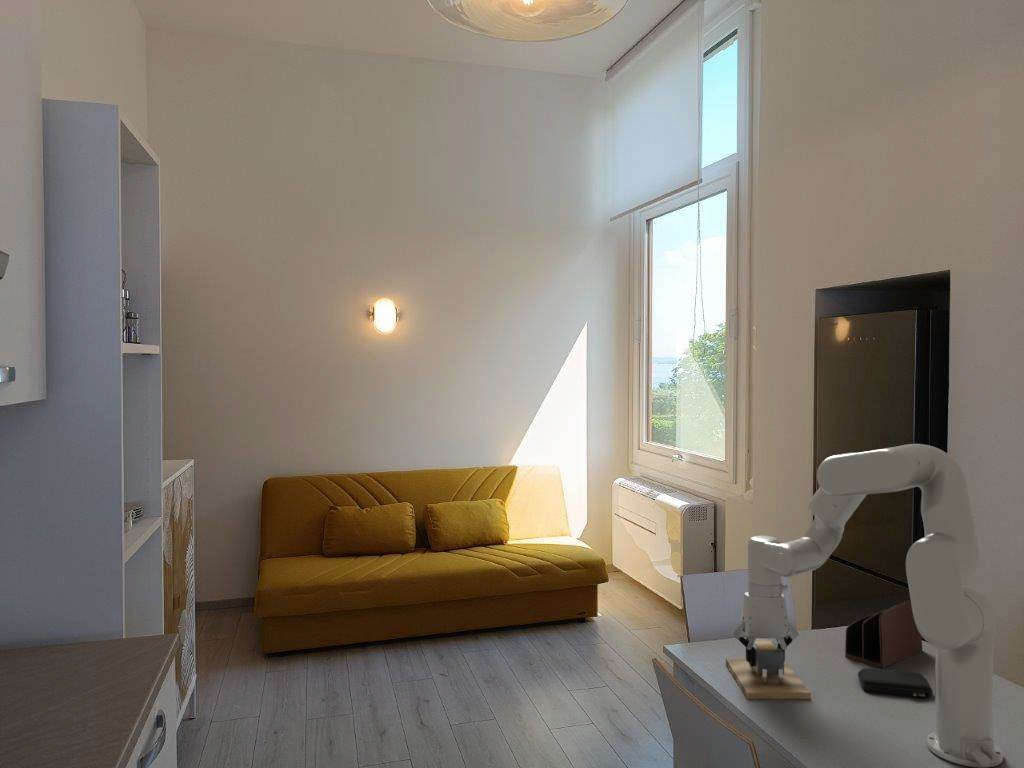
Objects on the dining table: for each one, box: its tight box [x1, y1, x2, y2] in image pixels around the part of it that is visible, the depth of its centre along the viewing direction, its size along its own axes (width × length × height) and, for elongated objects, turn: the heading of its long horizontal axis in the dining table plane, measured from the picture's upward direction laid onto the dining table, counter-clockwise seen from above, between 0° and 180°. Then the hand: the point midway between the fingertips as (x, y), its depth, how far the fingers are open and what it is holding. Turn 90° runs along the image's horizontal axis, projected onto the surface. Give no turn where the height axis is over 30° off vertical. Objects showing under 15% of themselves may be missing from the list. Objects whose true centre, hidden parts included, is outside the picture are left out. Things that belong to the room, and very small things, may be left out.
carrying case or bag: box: [857, 667, 934, 699], centre depth 173 cm, size 11×3×15 cm
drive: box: [753, 638, 784, 674], centre depth 179 cm, size 9×6×5 cm, turn 178°
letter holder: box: [844, 600, 923, 670], centre depth 194 cm, size 10×20×14 cm, turn 126°
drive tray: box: [725, 657, 812, 700], centre depth 179 cm, size 20×14×5 cm
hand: (765, 663), depth 179 cm, fingers closed on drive, 6 cm apart
